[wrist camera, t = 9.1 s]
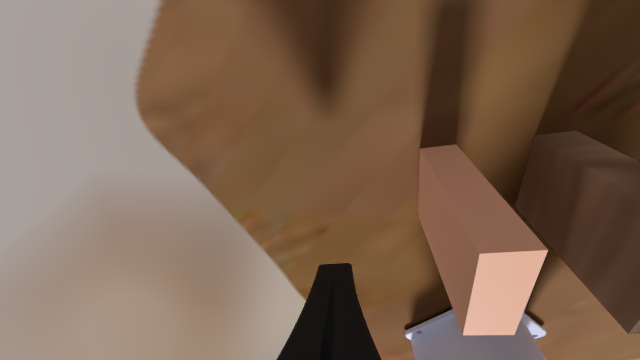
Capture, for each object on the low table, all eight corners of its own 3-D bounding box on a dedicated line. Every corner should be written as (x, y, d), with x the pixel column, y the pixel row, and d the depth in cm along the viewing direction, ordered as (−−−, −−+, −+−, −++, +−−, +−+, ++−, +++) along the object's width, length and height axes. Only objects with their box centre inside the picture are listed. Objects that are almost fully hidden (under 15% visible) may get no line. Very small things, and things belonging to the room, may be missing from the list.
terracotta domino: (417, 214, 18) (462, 335, 11) (419, 148, 15) (479, 253, 9) (448, 212, 18) (514, 334, 11) (456, 144, 15) (547, 250, 8)
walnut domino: (514, 206, 17) (628, 333, 10) (534, 135, 14) (703, 241, 8) (549, 204, 17) (690, 333, 10) (575, 130, 14) (790, 236, 7)
